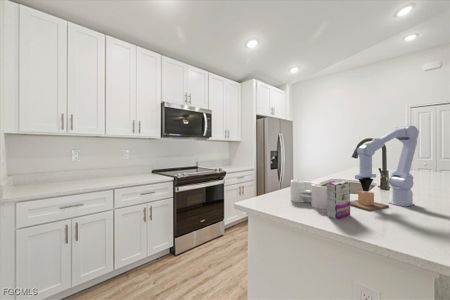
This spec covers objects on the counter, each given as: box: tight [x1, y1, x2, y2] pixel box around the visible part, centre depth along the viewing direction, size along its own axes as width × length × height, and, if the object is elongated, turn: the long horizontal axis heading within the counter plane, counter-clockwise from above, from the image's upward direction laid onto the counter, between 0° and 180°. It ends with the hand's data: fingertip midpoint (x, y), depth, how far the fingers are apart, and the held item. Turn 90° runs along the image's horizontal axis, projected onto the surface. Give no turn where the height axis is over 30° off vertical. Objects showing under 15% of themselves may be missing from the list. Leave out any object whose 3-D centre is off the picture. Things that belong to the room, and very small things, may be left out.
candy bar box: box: [326, 180, 351, 220], centre depth 97 cm, size 11×5×16 cm, turn 117°
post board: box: [350, 199, 390, 212], centre depth 113 cm, size 16×14×6 cm
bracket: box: [290, 179, 327, 210], centre depth 119 cm, size 25×10×12 cm, turn 33°
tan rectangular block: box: [357, 190, 375, 206], centre depth 113 cm, size 5×5×7 cm
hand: (365, 191), depth 113 cm, fingers closed
